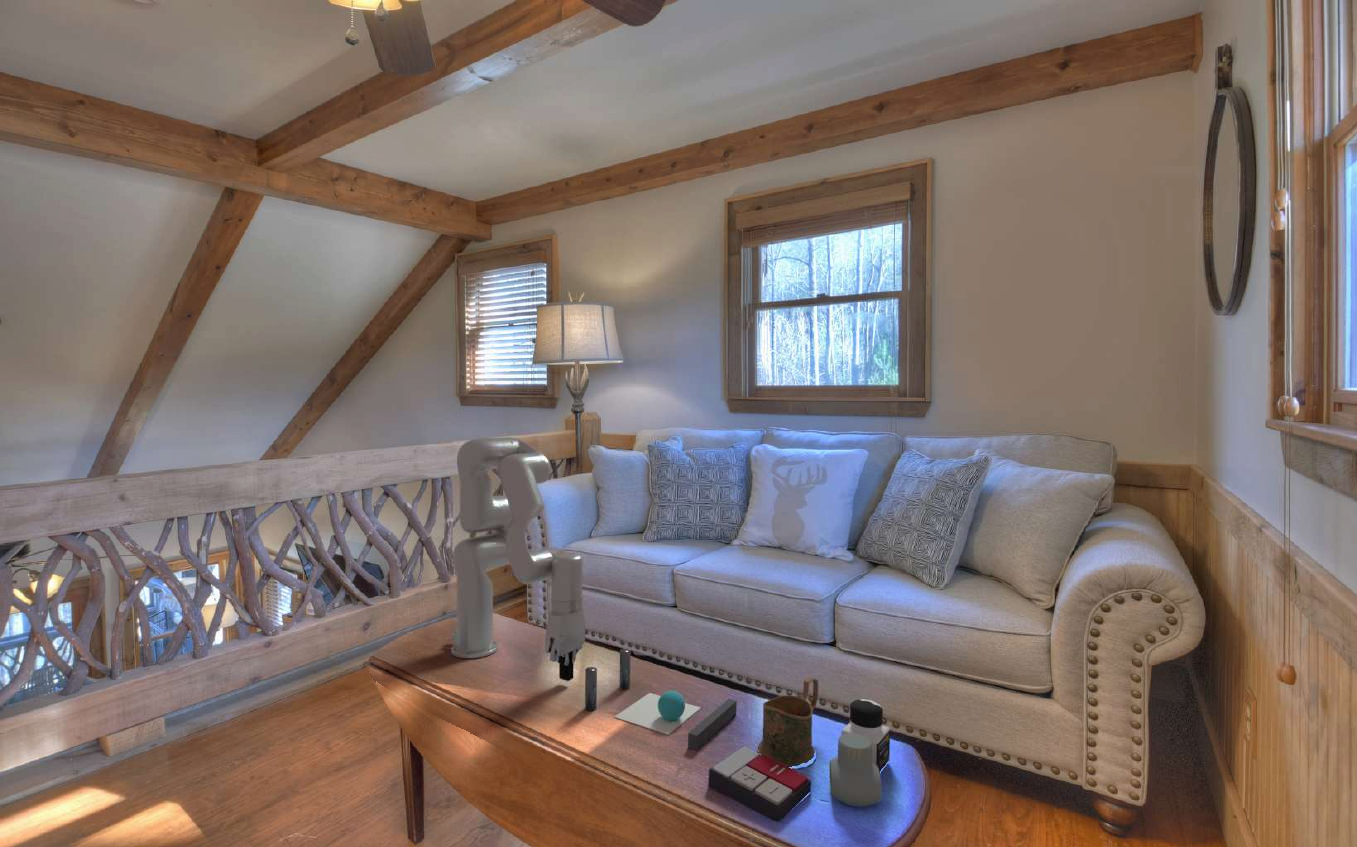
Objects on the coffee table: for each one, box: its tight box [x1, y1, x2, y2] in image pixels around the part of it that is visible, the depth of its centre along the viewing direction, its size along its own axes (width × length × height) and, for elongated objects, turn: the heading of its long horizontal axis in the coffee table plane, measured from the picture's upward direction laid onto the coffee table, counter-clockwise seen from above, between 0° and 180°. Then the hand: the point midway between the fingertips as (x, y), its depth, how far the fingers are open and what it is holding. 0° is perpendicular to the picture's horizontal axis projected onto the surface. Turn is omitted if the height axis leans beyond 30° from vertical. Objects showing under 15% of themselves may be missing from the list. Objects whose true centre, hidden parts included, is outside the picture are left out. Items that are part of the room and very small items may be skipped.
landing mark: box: [613, 692, 702, 736], centre depth 143 cm, size 14×14×1 cm
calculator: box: [707, 745, 812, 823], centre depth 115 cm, size 11×4×15 cm
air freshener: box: [829, 733, 883, 807], centre depth 113 cm, size 11×8×10 cm
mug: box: [757, 677, 819, 767], centre depth 129 cm, size 12×18×12 cm, turn 140°
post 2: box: [619, 648, 632, 691], centre depth 156 cm, size 3×3×9 cm
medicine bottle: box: [840, 698, 891, 772], centre depth 123 cm, size 7×7×12 cm
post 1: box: [584, 666, 598, 712], centre depth 145 cm, size 3×3×9 cm
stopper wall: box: [687, 698, 738, 751], centre depth 136 cm, size 2×18×3 cm, turn 149°
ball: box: [658, 690, 686, 720], centre depth 140 cm, size 6×6×6 cm
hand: (566, 678), depth 157 cm, fingers closed
